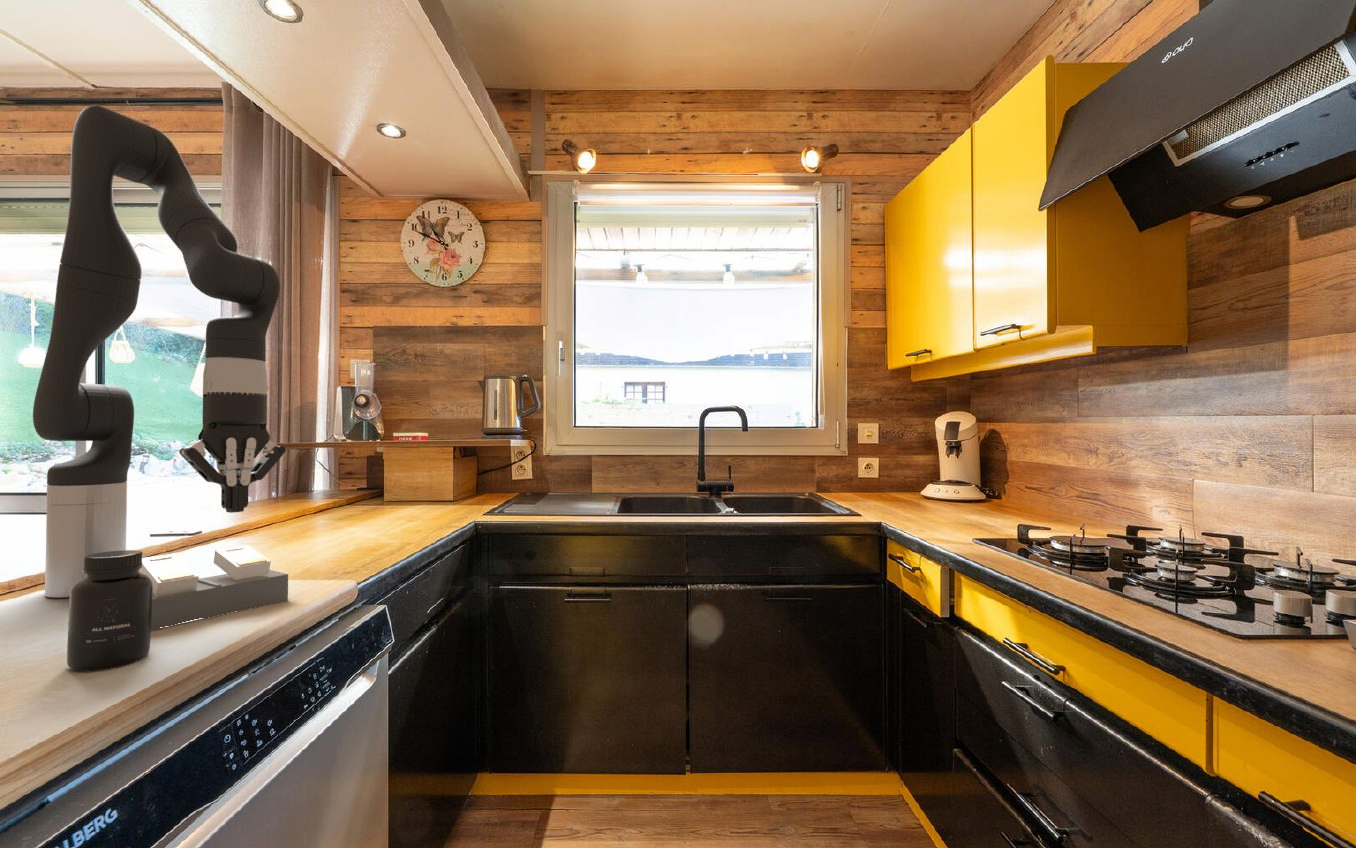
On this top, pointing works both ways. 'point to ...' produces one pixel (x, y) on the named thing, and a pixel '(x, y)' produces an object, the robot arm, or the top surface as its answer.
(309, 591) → the top surface
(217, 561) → the rocker
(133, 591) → the supplement bottle
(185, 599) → the switch panel
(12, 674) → the top surface
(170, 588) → the block
